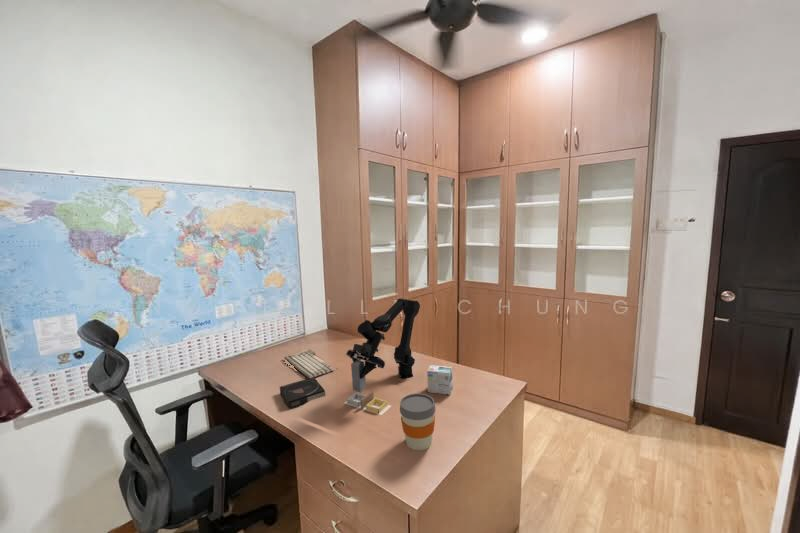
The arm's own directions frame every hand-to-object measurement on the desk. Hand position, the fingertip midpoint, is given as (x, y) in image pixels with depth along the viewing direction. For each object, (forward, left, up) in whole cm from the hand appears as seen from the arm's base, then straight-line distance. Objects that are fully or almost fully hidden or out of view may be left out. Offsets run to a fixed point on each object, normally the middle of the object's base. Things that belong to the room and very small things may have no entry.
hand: (356, 377), depth 137 cm
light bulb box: (-38, -3, -14) cm, 41 cm away
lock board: (-3, +1, -13) cm, 14 cm away
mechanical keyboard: (+24, -52, -14) cm, 59 cm away
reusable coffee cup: (-19, +29, -14) cm, 37 cm away
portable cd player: (+25, -17, -14) cm, 33 cm away
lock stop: (-1, -1, -6) cm, 6 cm away
